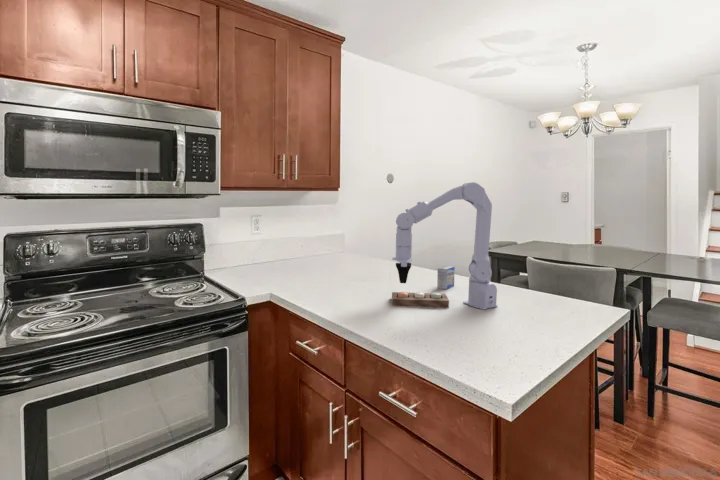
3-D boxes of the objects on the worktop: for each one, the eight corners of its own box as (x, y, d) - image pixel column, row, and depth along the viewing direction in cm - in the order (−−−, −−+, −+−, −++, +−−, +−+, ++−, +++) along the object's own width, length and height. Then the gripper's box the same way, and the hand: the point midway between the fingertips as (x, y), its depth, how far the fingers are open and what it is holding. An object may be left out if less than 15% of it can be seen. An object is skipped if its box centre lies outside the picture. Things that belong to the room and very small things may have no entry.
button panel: (445, 300, 149) (445, 293, 148) (448, 307, 139) (448, 300, 138) (391, 298, 150) (392, 292, 150) (391, 306, 140) (391, 299, 140)
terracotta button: (407, 298, 146) (407, 292, 146) (407, 301, 143) (408, 294, 143) (397, 298, 147) (397, 291, 146) (397, 301, 143) (398, 294, 143)
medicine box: (446, 289, 165) (447, 269, 164) (436, 288, 167) (437, 268, 166) (454, 286, 171) (455, 266, 170) (444, 284, 174) (445, 265, 173)
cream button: (423, 299, 146) (424, 292, 146) (424, 301, 142) (424, 294, 142) (414, 298, 146) (414, 292, 146) (414, 301, 143) (414, 294, 142)
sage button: (440, 299, 145) (440, 292, 145) (441, 302, 142) (441, 295, 142) (430, 299, 146) (430, 292, 145) (431, 301, 142) (431, 295, 142)
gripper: (392, 243, 150) (392, 278, 152) (392, 248, 136) (391, 287, 137) (411, 243, 149) (410, 278, 151) (413, 249, 135) (412, 287, 137)
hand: (402, 282), depth 144 cm, fingers closed
